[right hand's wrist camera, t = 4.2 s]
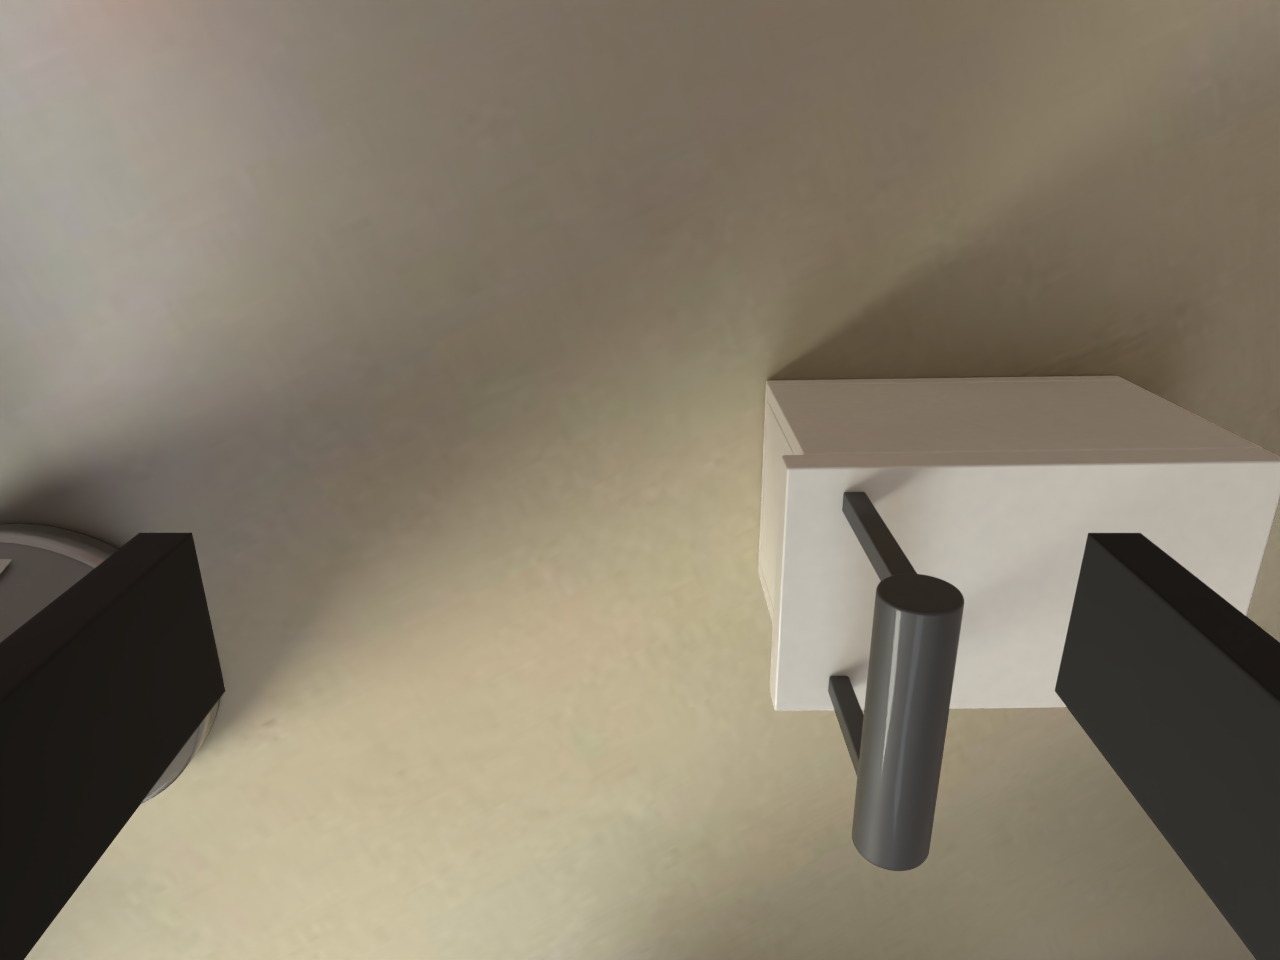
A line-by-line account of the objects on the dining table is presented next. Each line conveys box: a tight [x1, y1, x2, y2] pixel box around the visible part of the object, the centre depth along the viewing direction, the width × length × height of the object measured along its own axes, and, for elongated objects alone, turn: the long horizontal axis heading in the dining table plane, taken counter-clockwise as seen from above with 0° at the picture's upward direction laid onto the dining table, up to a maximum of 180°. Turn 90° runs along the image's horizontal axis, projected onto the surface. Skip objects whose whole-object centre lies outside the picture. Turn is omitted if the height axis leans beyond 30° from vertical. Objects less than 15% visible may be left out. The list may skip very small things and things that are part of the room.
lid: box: [770, 448, 1280, 871], centre depth 26 cm, size 16×9×9 cm, turn 91°
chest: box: [758, 376, 1262, 623], centre depth 34 cm, size 15×9×9 cm, turn 91°
